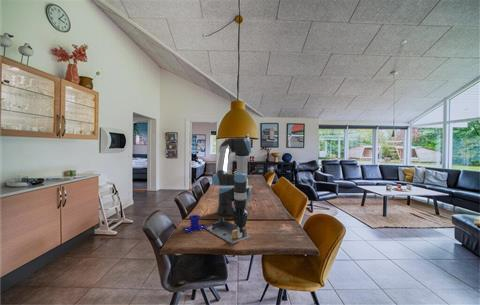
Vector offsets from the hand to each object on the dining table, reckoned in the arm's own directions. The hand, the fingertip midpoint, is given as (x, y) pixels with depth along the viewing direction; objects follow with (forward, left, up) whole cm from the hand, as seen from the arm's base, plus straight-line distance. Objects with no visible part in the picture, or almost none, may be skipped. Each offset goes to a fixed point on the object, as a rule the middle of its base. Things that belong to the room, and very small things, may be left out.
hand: (239, 237), depth 128 cm
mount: (-34, -12, -3) cm, 36 cm away
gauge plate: (-14, +1, -3) cm, 14 cm away
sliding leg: (-3, +2, -1) cm, 4 cm away
